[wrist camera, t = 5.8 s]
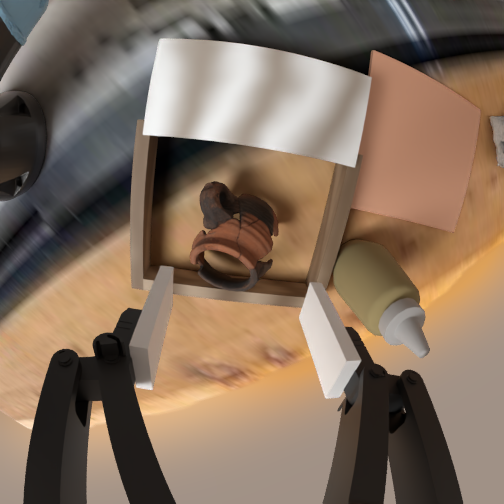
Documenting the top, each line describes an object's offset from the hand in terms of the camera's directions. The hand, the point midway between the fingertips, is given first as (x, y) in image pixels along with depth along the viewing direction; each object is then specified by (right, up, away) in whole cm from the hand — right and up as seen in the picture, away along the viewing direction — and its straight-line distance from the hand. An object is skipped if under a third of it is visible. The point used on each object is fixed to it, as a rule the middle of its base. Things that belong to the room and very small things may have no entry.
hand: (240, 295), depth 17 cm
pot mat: (+23, +16, +13) cm, 31 cm away
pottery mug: (-1, +8, +16) cm, 18 cm away
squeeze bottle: (+14, +2, +19) cm, 24 cm away
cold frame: (0, +11, +14) cm, 17 cm away
